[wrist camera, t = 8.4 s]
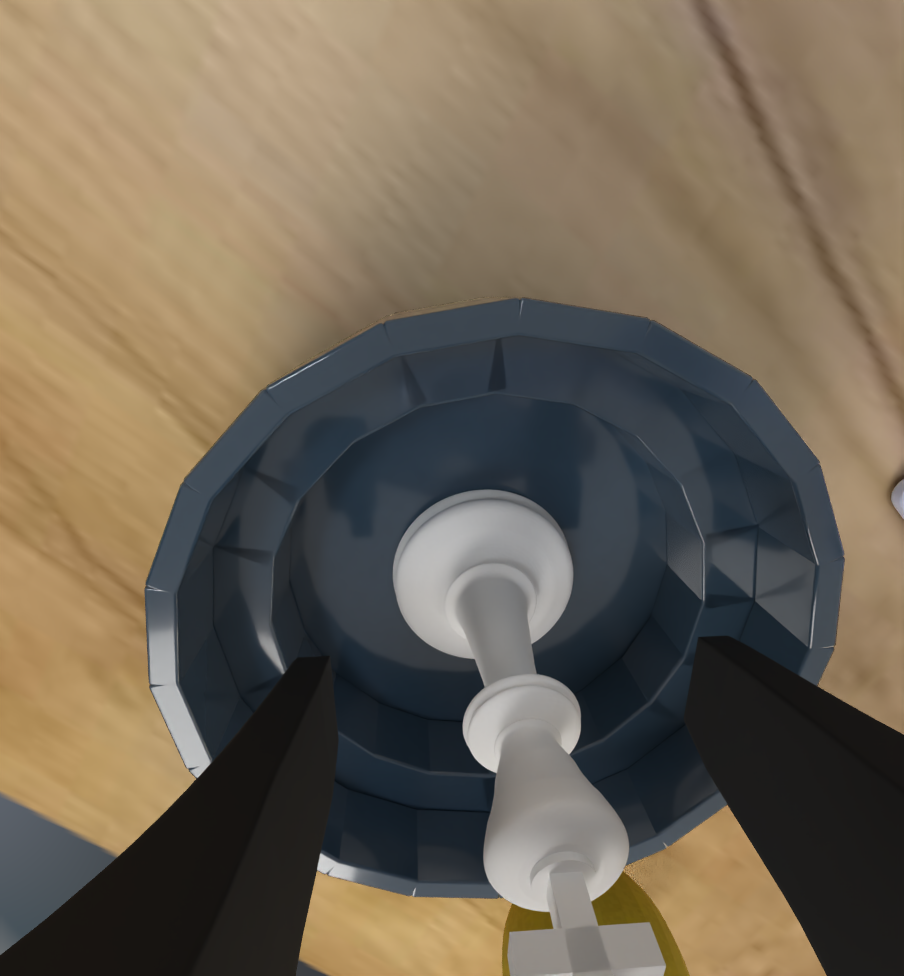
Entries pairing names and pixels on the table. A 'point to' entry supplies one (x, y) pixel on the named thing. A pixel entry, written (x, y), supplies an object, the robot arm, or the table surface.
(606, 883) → the chess piece
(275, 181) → the table surface
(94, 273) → the table surface
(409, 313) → the bowl
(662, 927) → the lemon
